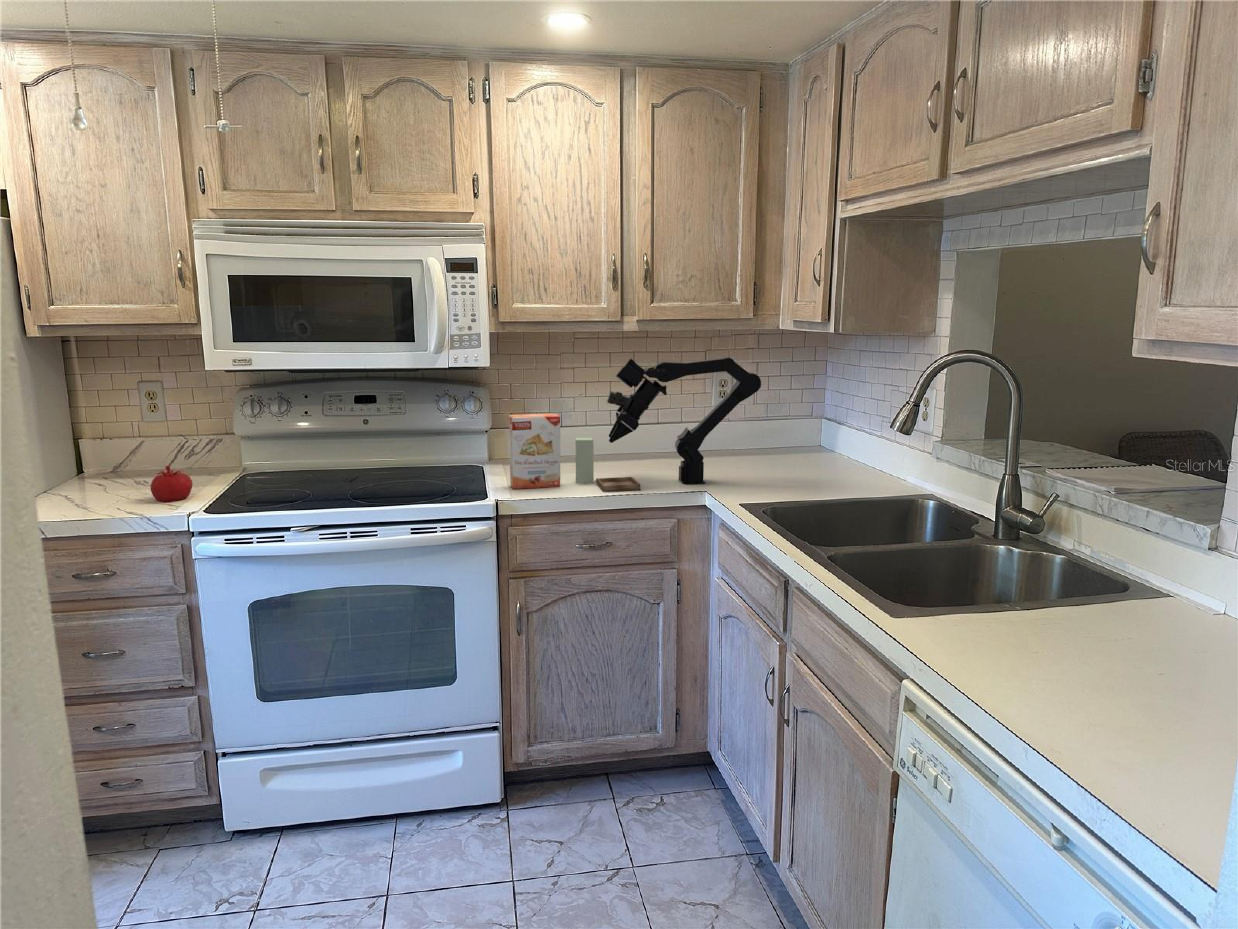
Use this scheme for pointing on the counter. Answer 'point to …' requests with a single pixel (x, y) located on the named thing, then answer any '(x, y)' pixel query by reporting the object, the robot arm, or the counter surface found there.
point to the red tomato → (171, 486)
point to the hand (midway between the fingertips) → (609, 439)
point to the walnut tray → (617, 484)
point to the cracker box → (534, 450)
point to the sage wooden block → (584, 460)
